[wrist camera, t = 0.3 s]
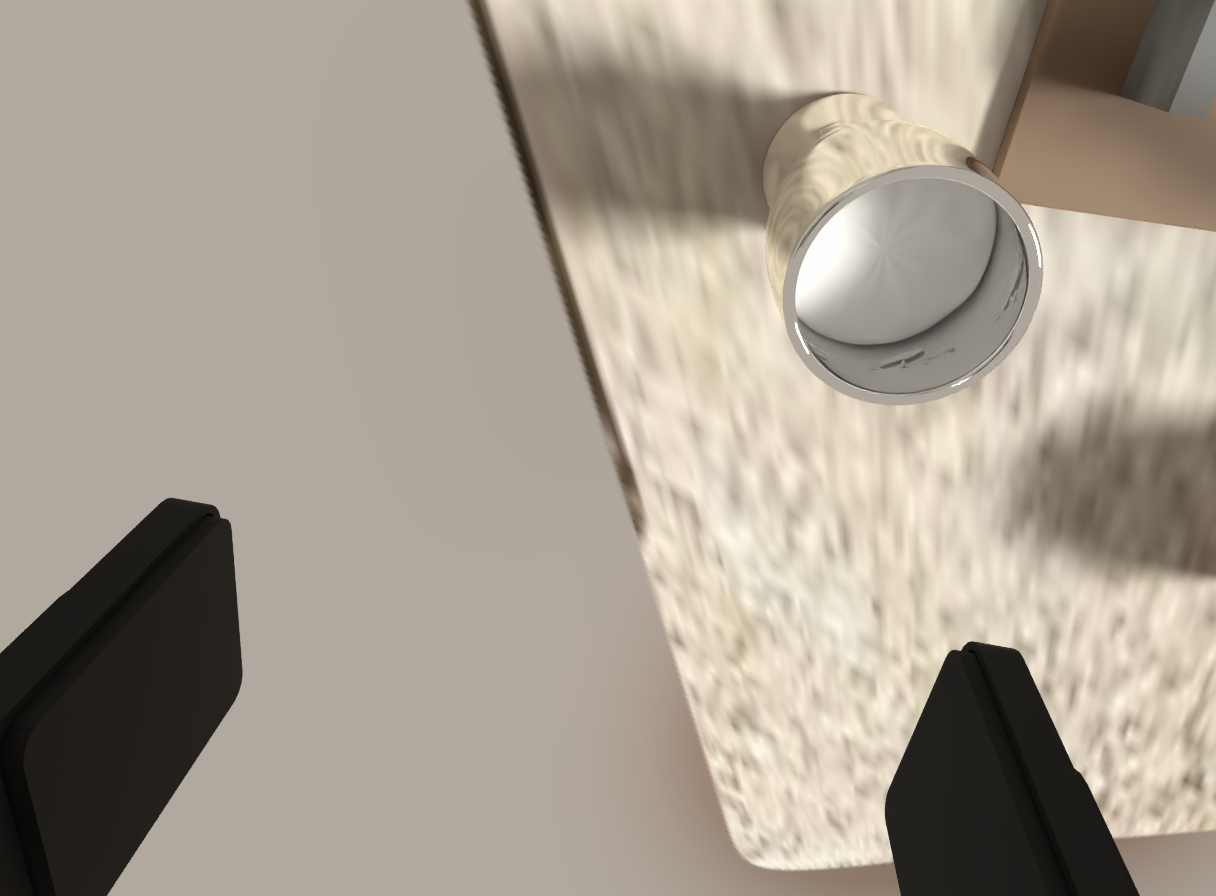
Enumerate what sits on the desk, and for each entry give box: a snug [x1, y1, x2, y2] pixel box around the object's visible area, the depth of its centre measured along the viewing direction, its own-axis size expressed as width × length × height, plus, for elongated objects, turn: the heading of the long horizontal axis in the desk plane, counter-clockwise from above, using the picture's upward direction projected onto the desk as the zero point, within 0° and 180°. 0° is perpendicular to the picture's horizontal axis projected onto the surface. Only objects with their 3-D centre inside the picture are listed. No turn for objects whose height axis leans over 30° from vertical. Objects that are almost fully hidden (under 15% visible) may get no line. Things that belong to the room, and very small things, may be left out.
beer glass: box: [763, 93, 1043, 405], centre depth 29 cm, size 7×7×15 cm
